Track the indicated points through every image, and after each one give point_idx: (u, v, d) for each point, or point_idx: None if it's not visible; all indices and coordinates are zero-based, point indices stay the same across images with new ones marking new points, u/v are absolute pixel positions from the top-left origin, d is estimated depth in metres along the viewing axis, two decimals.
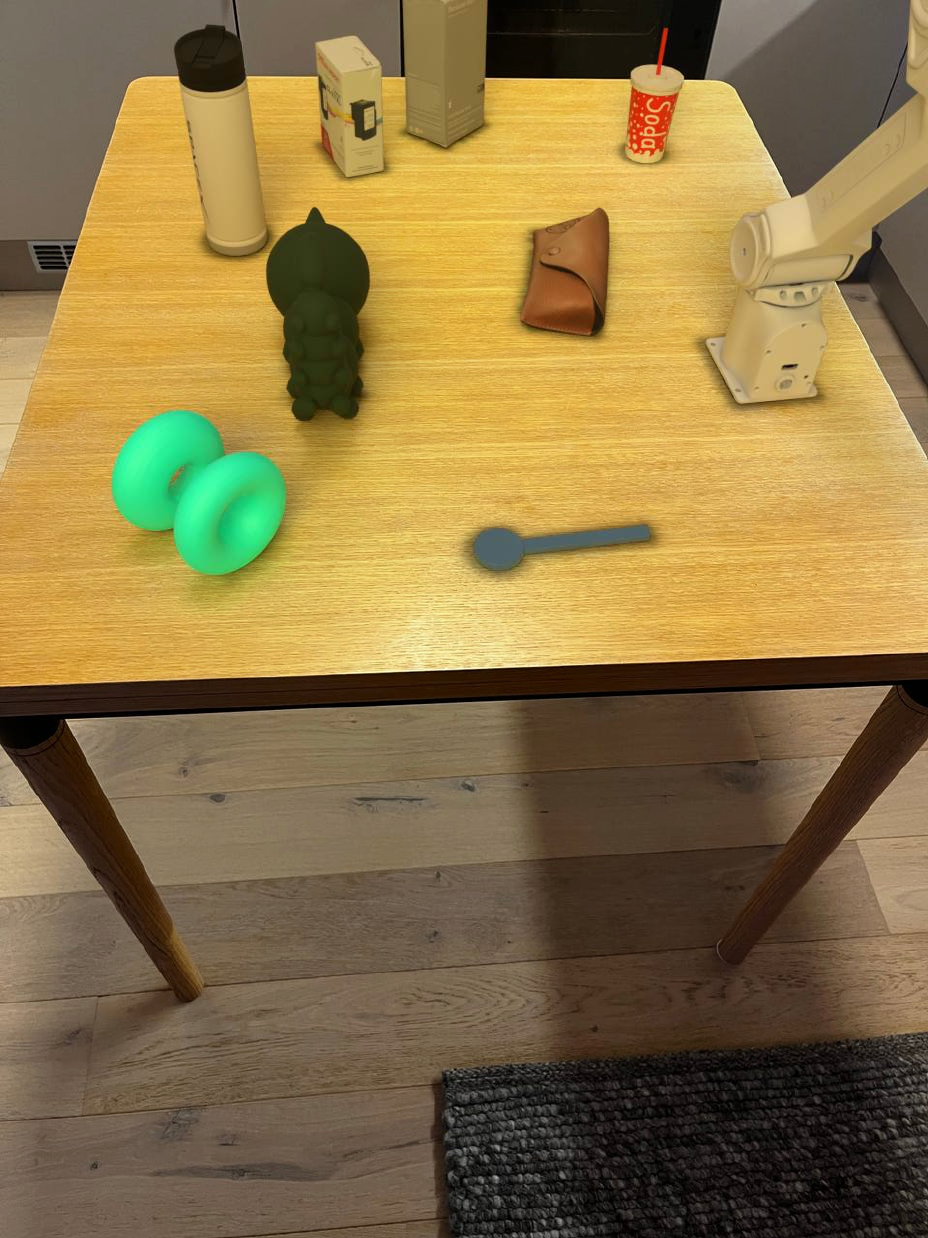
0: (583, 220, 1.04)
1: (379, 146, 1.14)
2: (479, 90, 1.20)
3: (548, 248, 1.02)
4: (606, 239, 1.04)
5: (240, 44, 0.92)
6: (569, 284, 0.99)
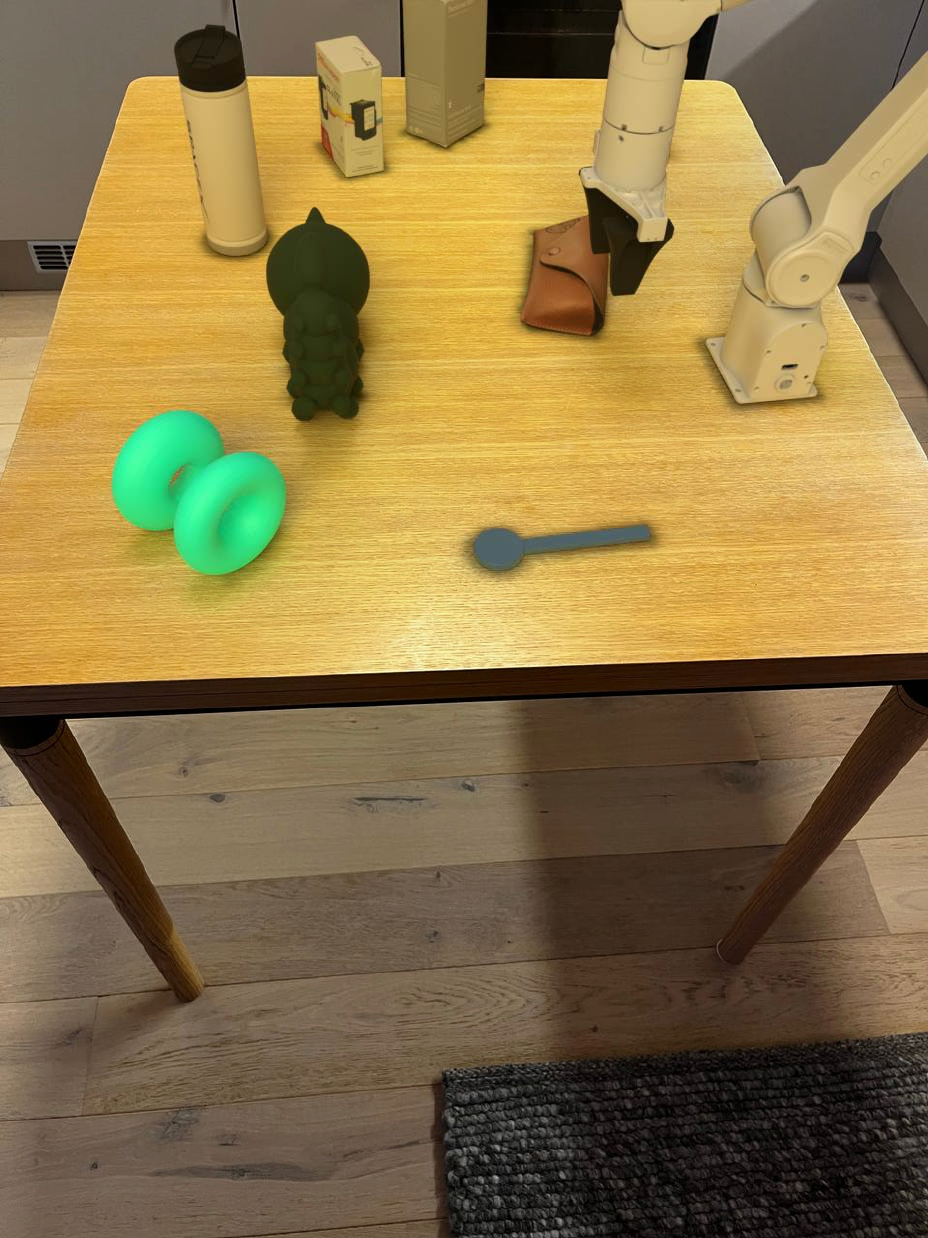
0: (583, 220, 1.04)
1: (379, 146, 1.14)
2: (479, 90, 1.20)
3: (548, 248, 1.02)
4: None
5: (240, 44, 0.92)
6: (569, 284, 0.99)
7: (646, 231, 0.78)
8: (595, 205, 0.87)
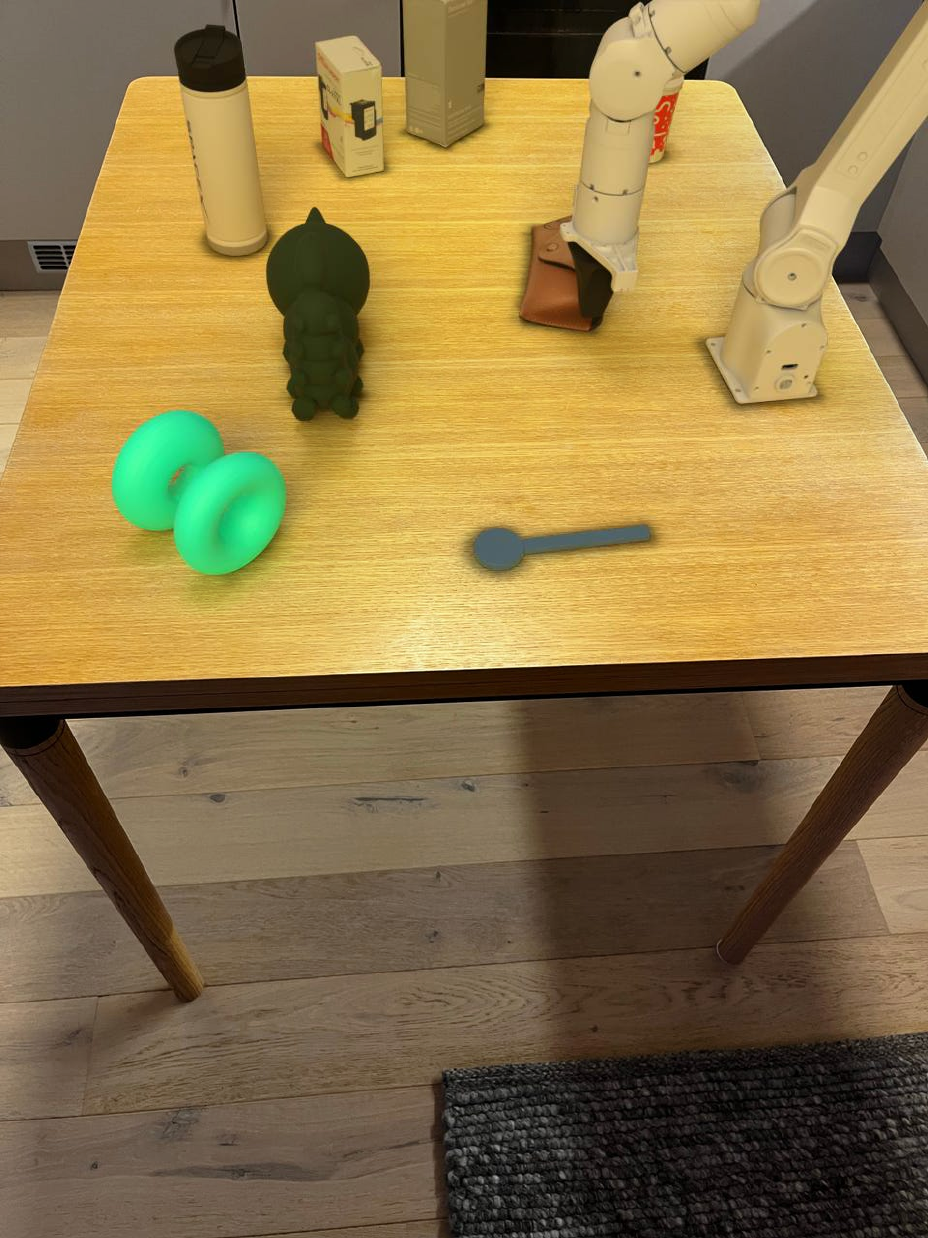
0: None
1: (379, 146, 1.14)
2: (479, 90, 1.20)
3: (546, 244, 1.03)
4: None
5: (240, 44, 0.92)
6: (568, 279, 0.99)
7: (619, 282, 0.86)
8: None
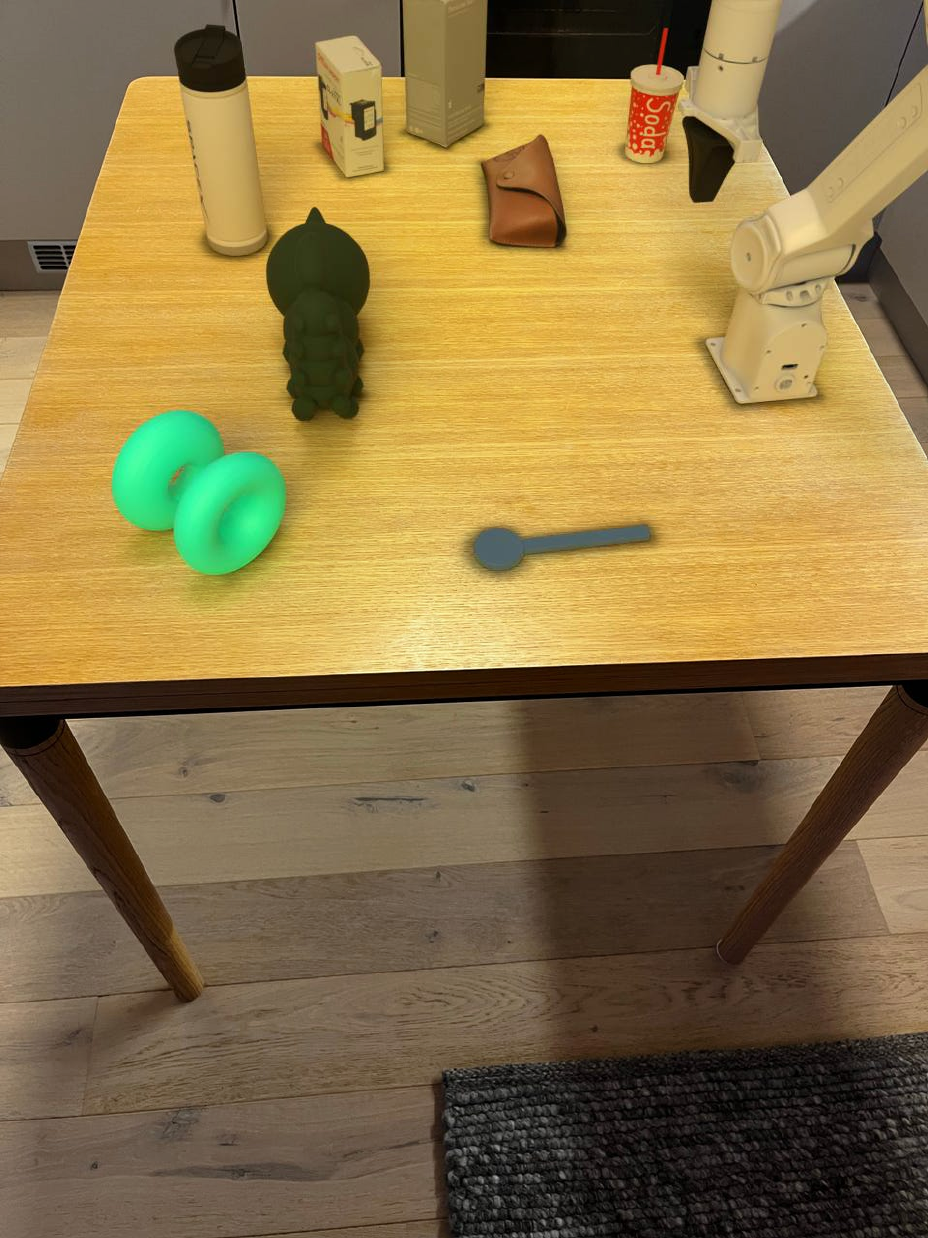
0: (529, 145, 1.13)
1: (379, 146, 1.14)
2: (479, 90, 1.20)
3: (502, 173, 1.11)
4: (552, 161, 1.13)
5: (240, 44, 0.92)
6: (529, 202, 1.08)
7: (742, 152, 0.86)
8: None
